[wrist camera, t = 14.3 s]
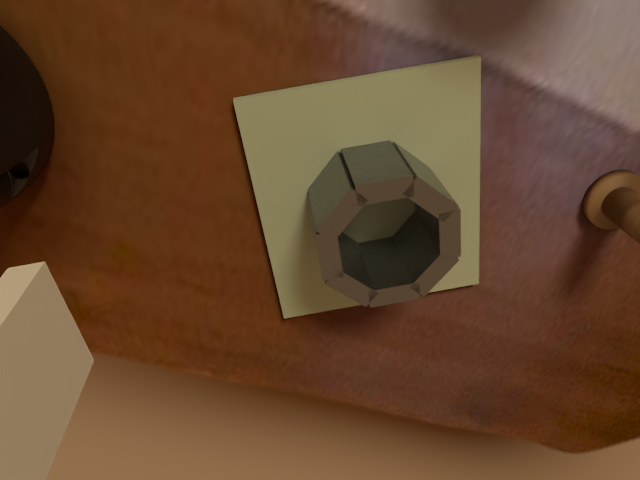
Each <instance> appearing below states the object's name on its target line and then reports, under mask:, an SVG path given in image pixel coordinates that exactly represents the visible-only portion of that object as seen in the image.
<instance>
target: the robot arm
mask: <svg viewBox="0 0 640 480" xmlns="http://www.w3.org/2000/svg"><path fill="white" fill-rule="evenodd" d="M53 138H54V118H53V111H52V106H51V102H50V99H49V95H48V92H47V90H46V87H45V85H44V83H43V80H42V78H41V76H40V75H39V73H38V71H37V69H36V68H35V66H34V64H33V63H32V61H31V60H30V58H29V57H28V56H27V54H26V53H25V52H24V50H23V49H22V48H21V47H20V46H19V44H18V43H17V42H16V41H15V40H14V39H13V38H12V37H11V36H10V35H9V34H8V33H7V32H6V31H5V30H4V29H3V28H1V27H0V207H1V206H3V205H4V204H6V203H8V202H10V201H11V200H13V199H14V198H16V197H17V196H18V195H19V194H20V193H22V192H23V191H24V190H25V189H26V188H27V187H28V186H29V185H30V184H31V183H32V182H33V180H34V179H35V178H36V177H37V176H38V175H39V174H40V172H41V171H42V169H43V168H44V166H45V164H46V162H47V160H48V158H49V155H50V152H51V149H52V144H53ZM93 362H94V359H93V357H92V355H91V353H90V351H89V349H88V347H87V345H86V343H85V341H84V339H83V337H82V335H81V333H80V331H79V329H78V327H77V325H76V323H75V321H74V319H73V317H72V315H71V313H70V311H69V309H68V307H67V305H66V303H65V301H64V299H63V297H62V295H61V293H60V291H59V289H58V287H57V285H56V283H55V281H54V279H53V277H52V275H51V273H50V271H49V269H48V267H47V265H46V263H45V262H39V263H33V264H28V265H22V266H17V267H11V268H8V269H7V270H6V271H5V272H4V274H3V275H2V276H1V277H0V480H46V478H47V475H48V473H49V470H50V468H51V465H52V462H53V460H54V458H55V455H56V453H57V450H58V448H59V445H60V443H61V441H62V438H63V436H64V433H65V431H66V428H67V426H68V423H69V421H70V418H71V415H72V413H73V411H74V408H75V406H76V404H77V401H78V398H79V396H80V394H81V391H82V389H83V386H84V384H85V381H86V379H87V376H88V374H89V371H90V369H91V366H92V364H93Z"/></svg>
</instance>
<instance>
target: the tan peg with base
mask: <svg viewBox="0 0 640 480" xmlns="http://www.w3.org/2000/svg"><path fill="white" fill-rule="evenodd" d="M582 209H583V213H584V215H585V217H586V218H587V219H588V220H589V221H590V222H591V223H593V224H594V225H595V226H597V227H598V228H601V229H605V230H613V229H618V228H621V229H622V230H623V231H625V232H626V233H627V234H628V235H630V236H631V237H632V238H633V239H635V240H636V241H637V242H638V243H640V177H639V176H638V175H636V174H634V173H633V172H631V171H627V170H616V171H612V172H609V173H607V174H604V175H603V176H601V177H600V178H598V179H597V180H596V181H595V182H594V183H593V184H592V185H591V186H590V187H589V188H588V190H587V192H586V194H585V196H584V199H583V203H582Z"/></svg>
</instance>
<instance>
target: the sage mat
mask: <svg viewBox="0 0 640 480" xmlns="http://www.w3.org/2000/svg"><path fill="white" fill-rule="evenodd" d="M233 103H234V108H235V112H236V116H237V120H238V125H239V129H240V133H241V137H242V142H243V146H244V150H245V154H246V159H247V163H248V167H249V171H250V176H251V180H252V184H253V189H254V193H255V197H256V201H257V206H258V210H259V214H260V218H261V223H262V227H263V231H264V235H265V240H266V244H267V248H268V252H269V257H270V261H271V265H272V270H273V274H274V278H275V282H276V287H277V291H278V295H279V299H280V304H281V308H282V312H283V316H284V319H285V318H290V317H296V316H302V315H307V314H313V313H318V312H324V311H329V310H335V309H340V308H346V307H352V306H357V305H361V304H359V303H358V302H356V301H354V300H352V299H351V298H349V297H347V296H345V295H343V294H342V293H340V292H338V291H336V290H335V289H333V288H331V287H329V286H328V285H326V284H325V281H323V279H322V274H321V268H320V263H319V257H318V251H317V246H316V240H315V235H314V229H313V223H312V218H311V212H310V206H309V201H308V195H307V192H309V191H308V188H309V187H310V185H311V184H312V183H313V182H314V180H315V179H316V178H317V176H318V175H319V174H320V173H321V171H322V170H323V169H324V167H325V166H326V165H327V163H328V162H329V161H330V160H331V158H332V157H333V156H334V154H335V153H336V152H337V151H338V152H340V153H341V149H342V148H348V147H353V146H359V145H365V144H371V143H376V142H382V141H388V140H390V141H391V143H393V141H394V142H396V143H397V144H398V145H400V146H401V147H403V148H404V149H405V150H407V151H408V152H409V153H411V154H412V155H413V156H415V157H416V158H417V159H419V160H420V161H422V162H423V163H424V164H426V165H427V166H428V167H430V169H431V170H432V171H433V173H434V174H435V175H436V177H437V178H438V179H439V181H440V182H441V183H442V184H443V186H444V187H445V188H446V190H447V191H448V192H449V194H450V195H451V196H452V198H453V199H454V200H455V202H456V203H457V204H458V207H459V208H460V209H461V257H458V259H459V261H458V262H457V263H456V264H455V265H454V266H453V267H452V269H451V270H450V271H449V272H448V273H447V274H446V275H445V276H444V277H443V278H442V279H441V280H440V281H439V282H438V283H437V284H436V285H435V286H434V287H433V288H432V289H431V290H430V291H429V292H435V291H441V290H446V289H452V288H457V287H463V286H468V285H474V284H479V219H480V116H481V57H480V56H478V55H475V56H469V57H464V58H458V59H452V60H447V61H441V62H435V63H430V64H424V65H418V66H412V67H407V68H401V69H395V70H390V71H384V72H378V73H372V74H367V75H361V76H355V77H350V78H344V79H338V80H333V81H327V82H321V83H315V84H310V85H304V86H298V87H293V88H287V89H281V90H276V91H270V92H264V93H258V94H253V95H247V96H241V97H236V98H233ZM414 211H415V205H414V202H413V201H412V200H410V199H409V198H402V199H396V200H391V201H385V202H379V203H374V204H368V205H364V206H363V207H362V209H361V210H360V211H359V212H358V213H357V215H356V216H355V217H354V218H353V219H352V221H351V222H350V223H349V224H348V225H347V227H346V228H345V229H344V230H343V231H342V233H344V234H345V235H347V236H349V237H350V238H352V239H354V240H355V241H357V242H358V243H359V242H365V241H370V240H376V239H382V238H387V237H392V236H393V235H394V234H395V233H396V232H397V231H398V230H399V228H400V227H401V226H402V225H403V224H404V223H405V222H406V221H407V219H408V218H409V217H410V216H411V215H412V214H413V213H414ZM429 292H428V293H429Z"/></svg>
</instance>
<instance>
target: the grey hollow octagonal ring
mask: <svg viewBox="0 0 640 480" xmlns="http://www.w3.org/2000/svg"><path fill="white" fill-rule="evenodd" d="M308 191H309V192H307V195H308V201H309V206H310V212H311V218H312V223H313V229H314V235H315V240H316V246H317V251H318V257H319V263H320V268H321V274H322V279H323V281H325V284H326V285H328V286H329V287H331V288H333V289H335V290H336V291H338V292H340V293H342V294H343V295H345V296H347V297H349V298H351V299H352V300H354V301H356V302H358V303H359V304H361V305H363V306H365V307H367V305H368V304H369V306H370V308H372V307H377V306H383V305H388V304H394V303H400V302H405V301H411V300H417V299H420V295H422V296H425V295H426V294H427V293H428V292H429V291H430V290H431V289H432V288H433V287H434V286H435V285H436V284H437V283H438V282H439V281H440V280H441V279H442V278H443V277H444V276H445V275H446V274H447V273H448V272H449V271H450V270H451V269H452V267H453V266H454V265H455V264H456V263H457V262H458V261H459V259H458V257H461V209H460V208H459V207H458V204H457V203H456V202H455V200H454V199H453V198H452V196H451V195H450V194H449V192H448V191H447V190H446V188H445V187H444V186H443V184H442V183H441V182H440V181H439V179H438V178H437V177H436V175H435V174H434V173H433V171H432V170H431V169H430V167H428V166H427V165H426V164H424V163H423V162H422V161H420V160H419V159H417V158H416V157H415V156H413V155H412V154H411V153H409V152H408V151H407V150H405V149H404V148H403V147H401V146H400V145H398V144H397V143H396V142H394V141H393V143H391V141H390V140H388V141H382V142H376V143H371V144H365V145H359V146H353V147H348V148H342V149H341V153H340V152H338V151H337V152H336V153H335V154H334V156H333V157H332V158H331V160H330V161H329V162H328V163H327V165H326V166H325V167H324V169H323V170H322V171H321V173H320V174H319V175H318V176H317V178H316V179H315V180H314V182H313V183H312V184H311V185H310V187H309V188H308ZM402 198H409V199H410V200H412V201H413V202H414V205H415V211H414V213H413V214H412V215H411V216H410V217H409V218H408V219H407V221H406V222H405V223H404V224H403V225H402V226H401V227H400V228H399V230H398V231H397V232H396V233H395V234H394V235H393V236H392V237H387V238H382V239H376V240H370V241H365V242H359V243H358V242H357V241H355V240H354V239H352V238H350V237H349V236H347V235H345V234H344V233H342V231H343V230H344V229H345V228H346V227H347V225H348V224H349V223H350V222H351V221H352V219H353V218H354V217H355V216H356V215H357V213H358V212H359V211H360V210H361V209H362V207H363V206H364V205H368V204H374V203H379V202H385V201H391V200H396V199H402Z"/></svg>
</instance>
